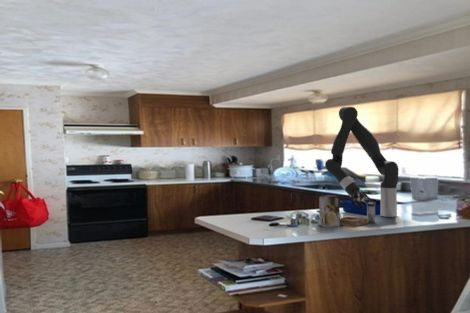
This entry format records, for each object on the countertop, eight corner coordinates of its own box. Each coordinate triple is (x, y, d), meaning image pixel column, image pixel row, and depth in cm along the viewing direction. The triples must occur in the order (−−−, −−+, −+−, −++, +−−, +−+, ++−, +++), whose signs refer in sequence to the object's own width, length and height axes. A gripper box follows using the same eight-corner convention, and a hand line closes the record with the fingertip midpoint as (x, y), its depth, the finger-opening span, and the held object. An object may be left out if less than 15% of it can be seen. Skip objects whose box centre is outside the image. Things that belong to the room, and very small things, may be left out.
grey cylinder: (369, 221, 258) (369, 202, 258) (377, 222, 255) (377, 203, 255) (364, 222, 255) (364, 203, 255) (372, 223, 251) (372, 203, 251)
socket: (346, 220, 261) (346, 215, 261) (367, 223, 251) (367, 218, 251) (331, 223, 252) (331, 218, 252) (353, 226, 241) (353, 221, 241)
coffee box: (334, 224, 250) (334, 194, 249) (340, 226, 244) (340, 196, 243) (318, 225, 247) (318, 195, 247) (324, 227, 241) (324, 196, 241)
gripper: (346, 182, 258) (364, 204, 250) (360, 180, 267) (378, 202, 259) (338, 191, 262) (356, 213, 254) (352, 189, 271) (369, 210, 263)
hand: (367, 207), depth 256 cm, fingers open, 8 cm apart
